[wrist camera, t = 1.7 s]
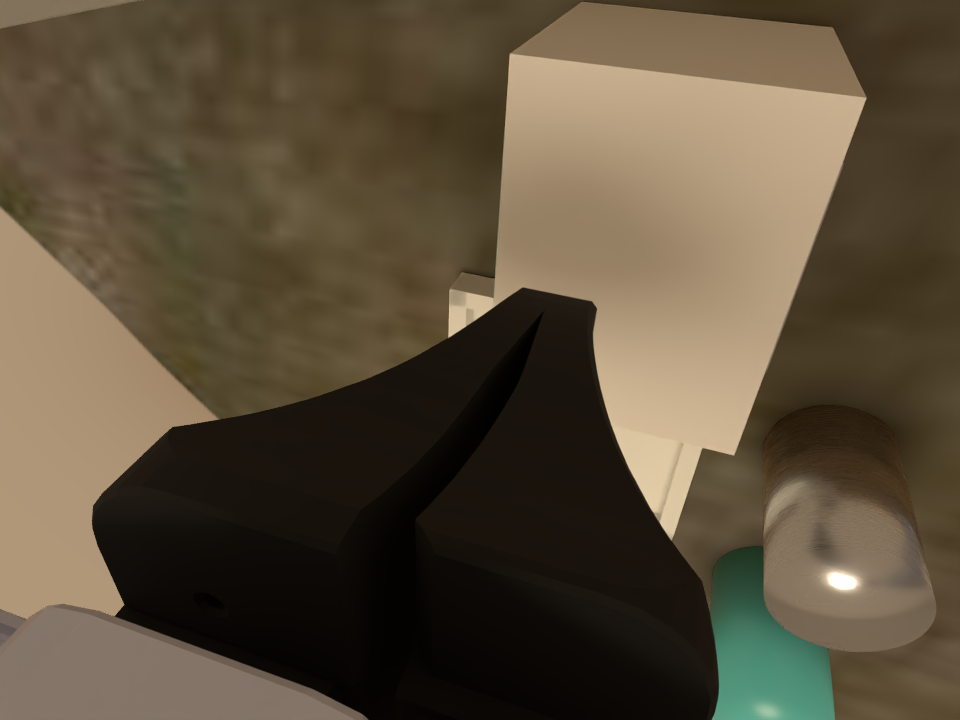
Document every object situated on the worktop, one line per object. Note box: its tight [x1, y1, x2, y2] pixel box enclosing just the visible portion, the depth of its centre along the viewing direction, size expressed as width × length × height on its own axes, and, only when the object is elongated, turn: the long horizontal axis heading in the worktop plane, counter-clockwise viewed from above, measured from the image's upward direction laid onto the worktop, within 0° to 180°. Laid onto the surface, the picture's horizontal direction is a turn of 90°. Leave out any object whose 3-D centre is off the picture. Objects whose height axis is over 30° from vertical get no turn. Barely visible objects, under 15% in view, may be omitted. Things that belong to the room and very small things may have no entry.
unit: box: [493, 2, 866, 455], centre depth 17 cm, size 7×8×6 cm
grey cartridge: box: [763, 405, 936, 652], centre depth 20 cm, size 4×4×6 cm
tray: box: [449, 272, 702, 541], centre depth 24 cm, size 9×9×1 cm
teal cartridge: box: [710, 547, 835, 720], centre depth 24 cm, size 4×4×6 cm
